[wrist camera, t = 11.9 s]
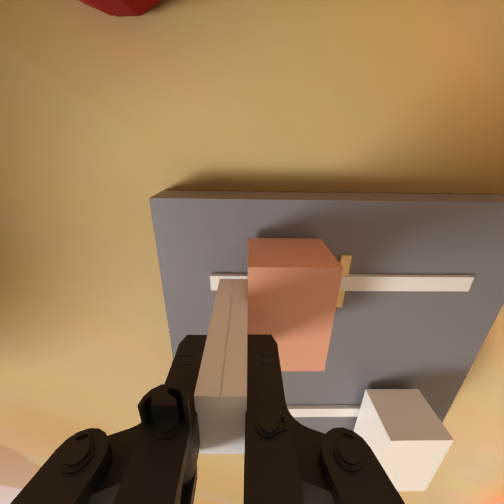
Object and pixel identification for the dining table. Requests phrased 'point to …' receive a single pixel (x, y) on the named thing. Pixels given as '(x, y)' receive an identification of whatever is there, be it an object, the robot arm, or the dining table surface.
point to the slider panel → (351, 284)
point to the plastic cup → (122, 6)
